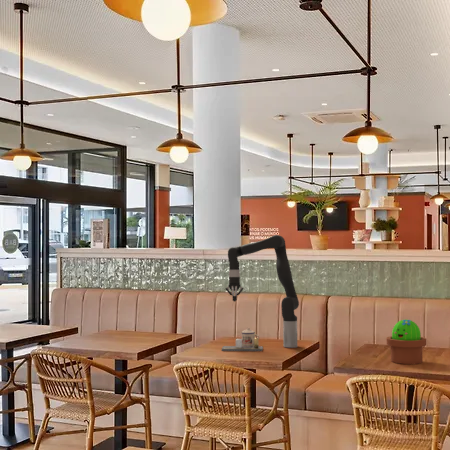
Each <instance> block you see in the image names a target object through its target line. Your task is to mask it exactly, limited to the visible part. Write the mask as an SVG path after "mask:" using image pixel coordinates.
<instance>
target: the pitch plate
mask: <svg viewBox="0 0 450 450" xmlns="http://www.w3.org/2000/svg"><path fill="white" fill-rule="evenodd" d="M259 342H260V341H259V340H258V337H255V338H254V346H243V345H242V348H236V345H223V346H222V348H221V352H263V349H264V347H263V346H262V345H261V346H259Z"/></svg>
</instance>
